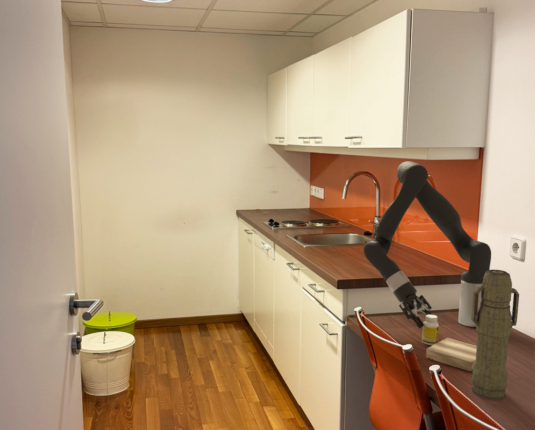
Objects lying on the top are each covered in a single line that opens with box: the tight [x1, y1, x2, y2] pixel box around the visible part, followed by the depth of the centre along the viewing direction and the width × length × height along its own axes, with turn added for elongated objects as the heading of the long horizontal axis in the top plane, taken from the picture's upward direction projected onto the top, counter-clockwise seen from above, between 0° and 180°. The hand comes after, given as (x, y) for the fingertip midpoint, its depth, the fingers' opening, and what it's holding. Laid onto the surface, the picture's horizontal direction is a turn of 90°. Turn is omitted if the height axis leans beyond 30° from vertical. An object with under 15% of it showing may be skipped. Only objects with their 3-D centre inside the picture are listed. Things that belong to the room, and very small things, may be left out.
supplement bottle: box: [421, 314, 440, 346], centre depth 185 cm, size 5×5×10 cm
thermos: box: [471, 269, 520, 401], centre depth 145 cm, size 9×12×35 cm
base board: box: [425, 337, 477, 372], centre depth 172 cm, size 15×15×3 cm
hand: (428, 324), depth 185 cm, fingers open, 8 cm apart
